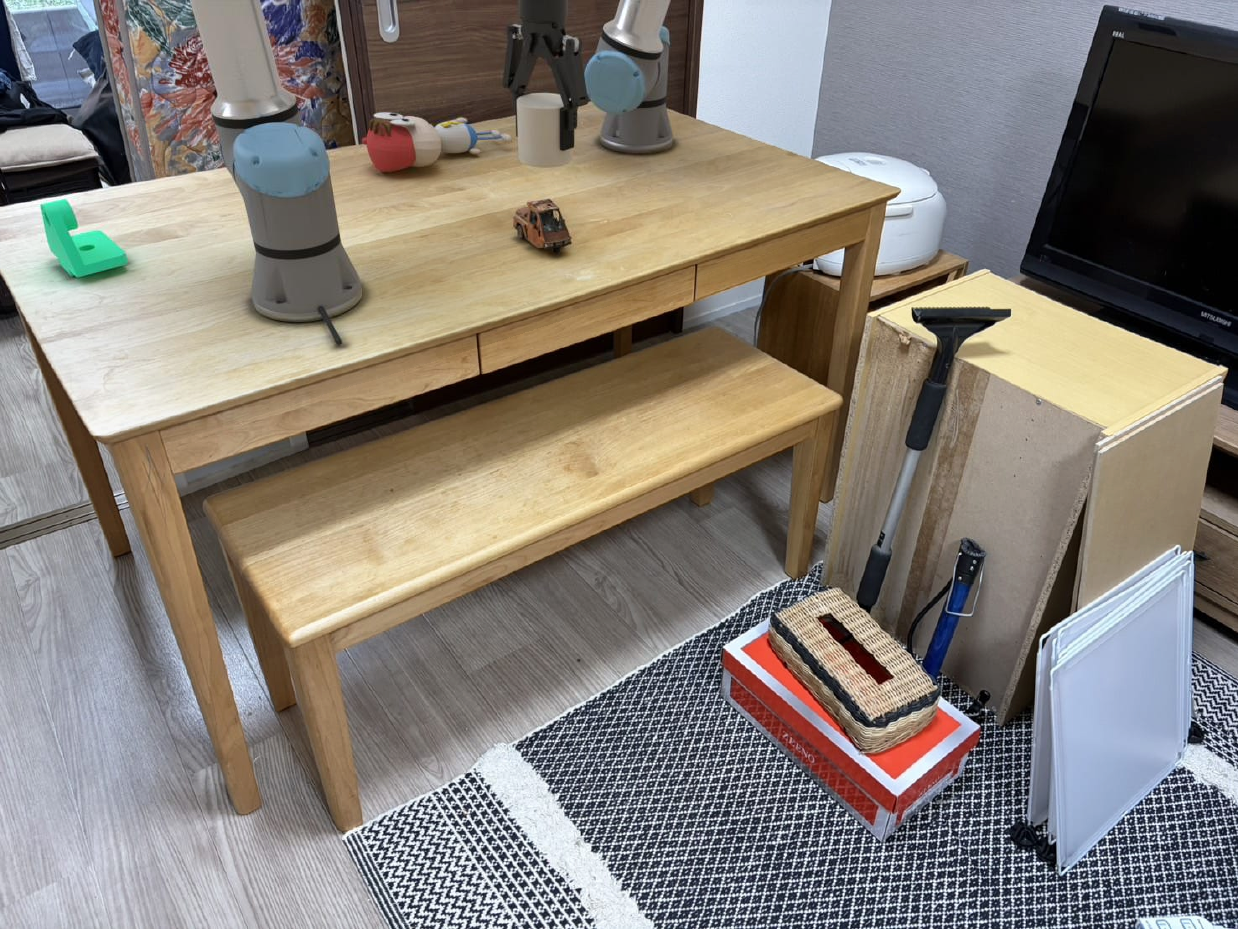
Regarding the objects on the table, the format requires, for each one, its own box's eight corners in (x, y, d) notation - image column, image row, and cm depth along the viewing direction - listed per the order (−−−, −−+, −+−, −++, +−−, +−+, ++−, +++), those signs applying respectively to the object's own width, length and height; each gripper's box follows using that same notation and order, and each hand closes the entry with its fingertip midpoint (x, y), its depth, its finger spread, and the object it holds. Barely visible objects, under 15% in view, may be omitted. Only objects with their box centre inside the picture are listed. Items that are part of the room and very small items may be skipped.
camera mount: (132, 270, 140) (111, 204, 134) (79, 284, 136) (55, 217, 130) (104, 244, 147) (84, 181, 141) (53, 257, 143) (29, 192, 137)
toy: (528, 119, 180) (378, 122, 165) (527, 172, 185) (381, 180, 170) (487, 104, 193) (345, 105, 178) (486, 154, 198) (348, 160, 183)
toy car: (537, 226, 158) (536, 186, 154) (580, 250, 150) (580, 209, 146) (506, 235, 154) (504, 194, 150) (548, 260, 147) (547, 218, 143)
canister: (540, 146, 160) (539, 89, 154) (583, 157, 156) (583, 99, 150) (507, 159, 153) (505, 101, 148) (551, 171, 150) (551, 112, 144)
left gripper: (614, -2, 137) (610, 151, 150) (508, -22, 147) (513, 122, 161) (581, 5, 132) (580, 162, 145) (474, -17, 142) (482, 132, 156)
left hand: (544, 141), depth 153 cm, fingers closed on canister, 9 cm apart
